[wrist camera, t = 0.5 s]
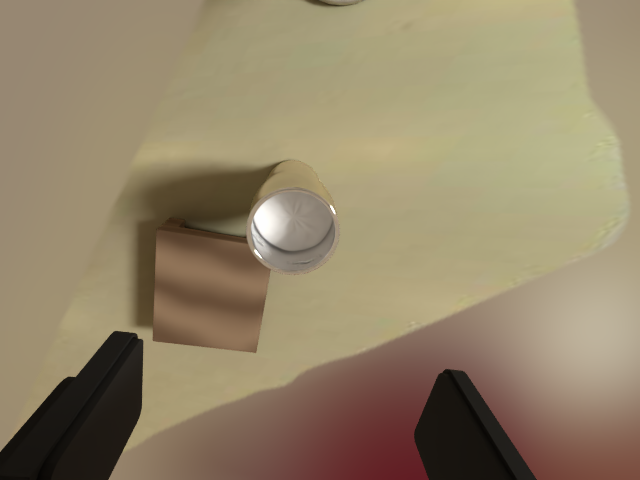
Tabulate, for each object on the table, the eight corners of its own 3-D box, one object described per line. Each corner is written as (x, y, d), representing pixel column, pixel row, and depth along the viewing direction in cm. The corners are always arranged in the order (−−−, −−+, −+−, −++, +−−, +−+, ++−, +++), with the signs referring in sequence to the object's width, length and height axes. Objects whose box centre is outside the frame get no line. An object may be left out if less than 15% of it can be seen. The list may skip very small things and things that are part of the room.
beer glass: (300, 228, 38) (304, 293, 25) (249, 194, 37) (223, 244, 23) (336, 180, 37) (363, 222, 23) (285, 142, 35) (280, 162, 21)
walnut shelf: (170, 217, 37) (156, 229, 33) (276, 235, 39) (274, 248, 35) (165, 320, 42) (152, 341, 38) (259, 332, 43) (256, 352, 40)
